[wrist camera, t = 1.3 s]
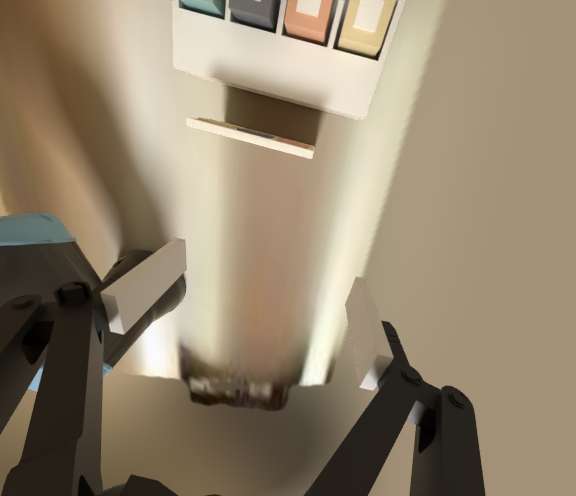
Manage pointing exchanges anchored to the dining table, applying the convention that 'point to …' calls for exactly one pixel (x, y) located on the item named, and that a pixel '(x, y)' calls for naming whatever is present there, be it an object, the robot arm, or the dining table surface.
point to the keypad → (280, 59)
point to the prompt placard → (252, 136)
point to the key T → (365, 26)
